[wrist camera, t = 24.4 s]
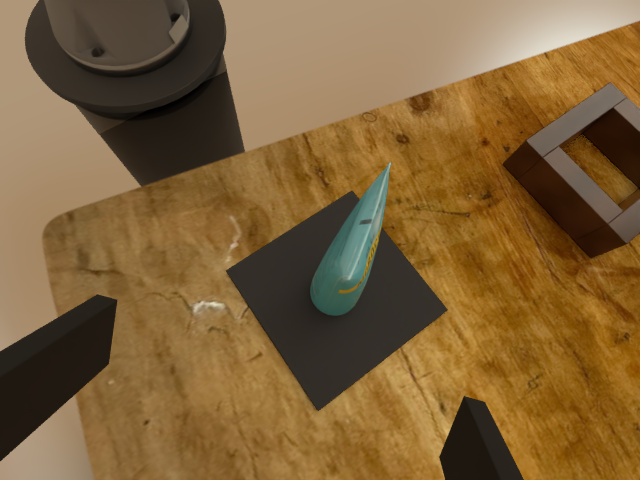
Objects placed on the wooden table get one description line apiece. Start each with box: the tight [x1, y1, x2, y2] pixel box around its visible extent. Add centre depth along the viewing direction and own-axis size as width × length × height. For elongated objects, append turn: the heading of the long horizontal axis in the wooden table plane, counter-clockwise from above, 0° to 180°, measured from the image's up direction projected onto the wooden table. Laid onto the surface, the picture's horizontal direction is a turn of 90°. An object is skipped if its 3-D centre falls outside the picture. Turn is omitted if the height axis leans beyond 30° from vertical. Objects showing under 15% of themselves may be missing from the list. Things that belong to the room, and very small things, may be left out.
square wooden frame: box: [503, 82, 640, 258], centre depth 44 cm, size 14×14×5 cm
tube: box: [310, 162, 391, 316], centre depth 31 cm, size 7×5×19 cm, turn 165°
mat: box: [226, 191, 447, 411], centre depth 40 cm, size 16×16×1 cm
